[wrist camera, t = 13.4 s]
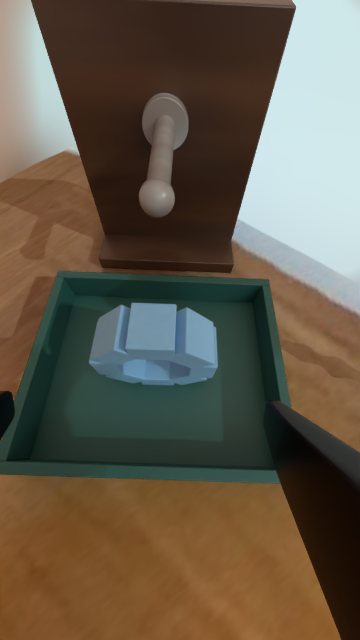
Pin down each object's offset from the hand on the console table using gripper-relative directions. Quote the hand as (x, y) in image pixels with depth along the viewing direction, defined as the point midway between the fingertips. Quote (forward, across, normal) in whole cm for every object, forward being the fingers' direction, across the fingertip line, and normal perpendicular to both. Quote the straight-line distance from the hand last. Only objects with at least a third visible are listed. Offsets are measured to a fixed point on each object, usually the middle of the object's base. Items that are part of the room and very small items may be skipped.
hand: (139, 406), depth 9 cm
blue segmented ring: (+6, 0, +1) cm, 6 cm away
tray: (+9, 0, +3) cm, 10 cm away
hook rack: (+16, 0, -4) cm, 16 cm away
